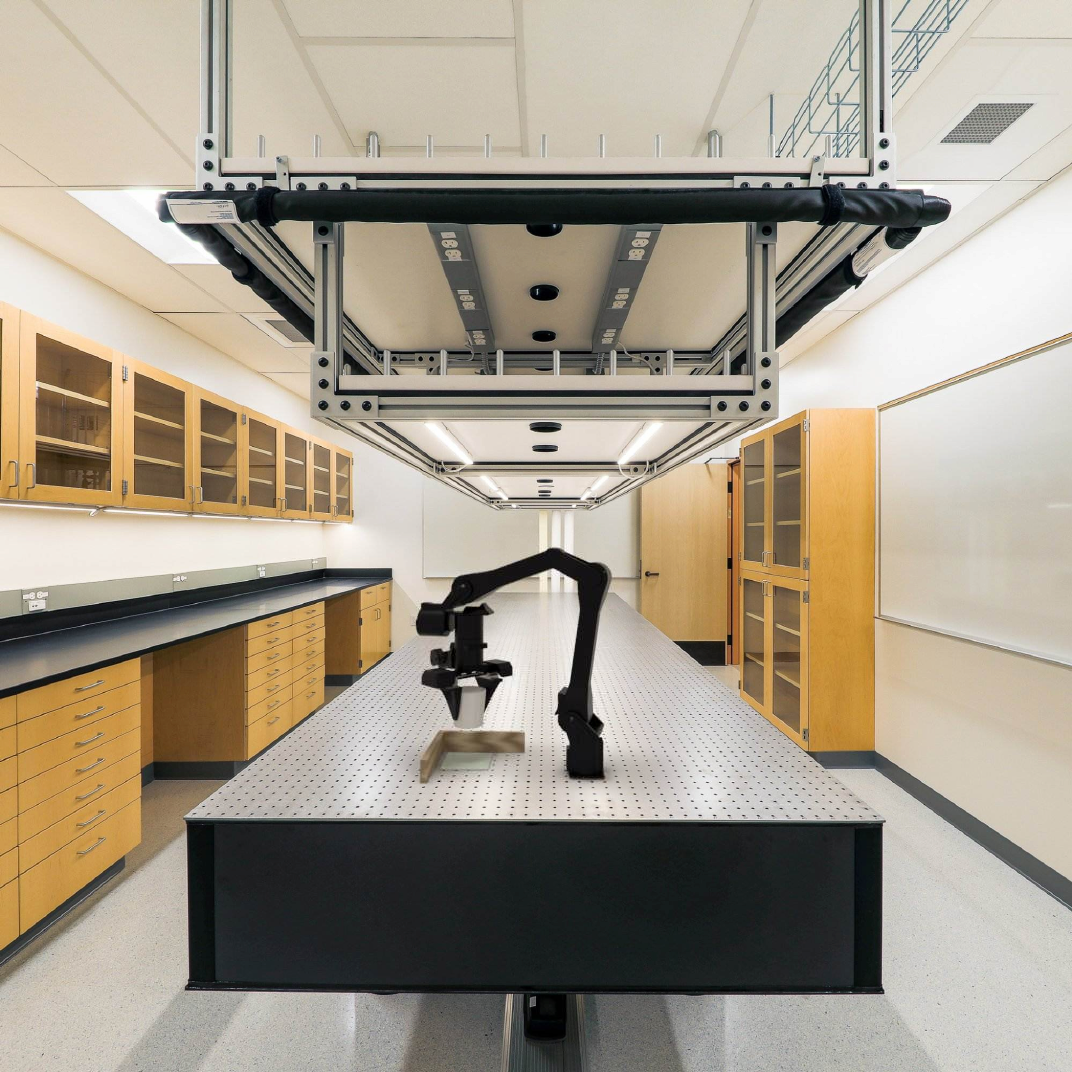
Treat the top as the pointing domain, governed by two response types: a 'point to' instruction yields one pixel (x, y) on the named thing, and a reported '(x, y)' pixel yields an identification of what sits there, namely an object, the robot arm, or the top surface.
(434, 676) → the robot arm
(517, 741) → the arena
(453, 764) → the pad
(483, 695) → the white cup
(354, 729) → the top surface
